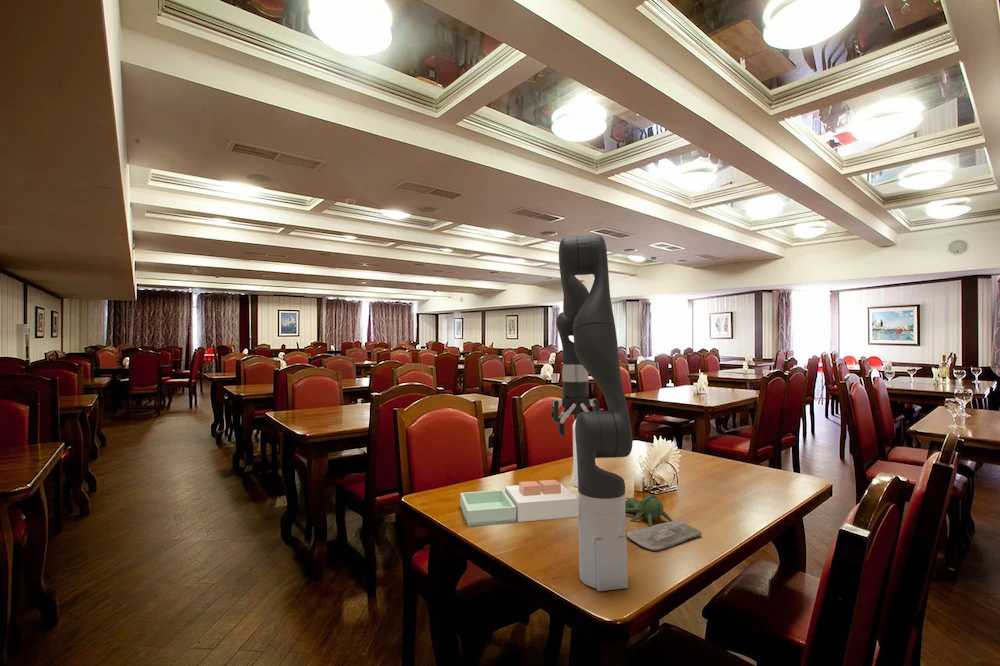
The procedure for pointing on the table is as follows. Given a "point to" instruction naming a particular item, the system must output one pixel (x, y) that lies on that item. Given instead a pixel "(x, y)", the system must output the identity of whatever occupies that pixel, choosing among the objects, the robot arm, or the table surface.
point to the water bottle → (575, 459)
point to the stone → (663, 535)
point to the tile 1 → (529, 488)
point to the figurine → (646, 508)
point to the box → (487, 508)
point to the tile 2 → (550, 486)
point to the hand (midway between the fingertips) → (576, 435)
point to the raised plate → (543, 505)
